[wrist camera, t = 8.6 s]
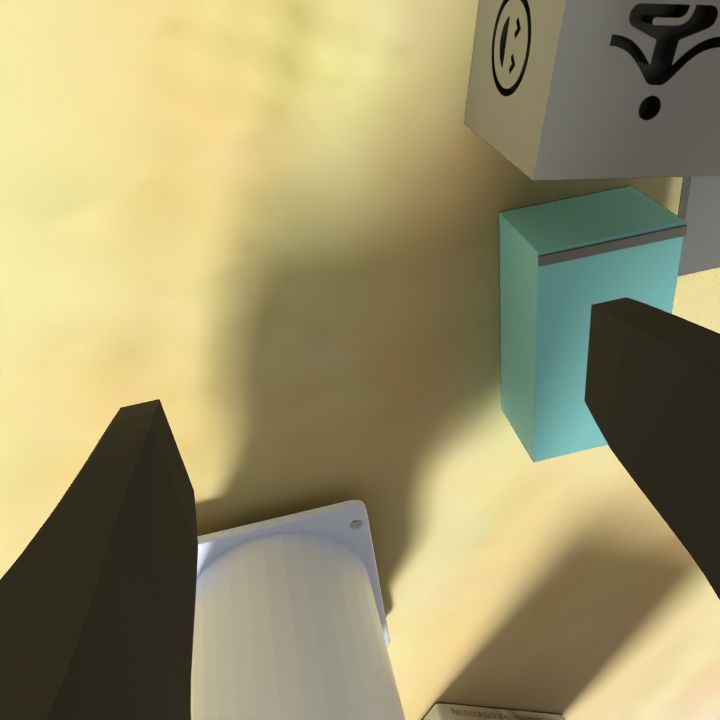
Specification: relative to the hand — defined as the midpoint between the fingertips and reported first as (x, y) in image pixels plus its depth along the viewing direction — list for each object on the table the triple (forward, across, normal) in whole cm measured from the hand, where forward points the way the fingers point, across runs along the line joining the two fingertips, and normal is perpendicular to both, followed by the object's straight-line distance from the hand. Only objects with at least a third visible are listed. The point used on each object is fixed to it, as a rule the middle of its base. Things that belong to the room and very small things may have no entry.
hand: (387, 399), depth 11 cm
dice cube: (+11, -8, -3) cm, 14 cm away
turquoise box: (+10, -8, +6) cm, 14 cm away
